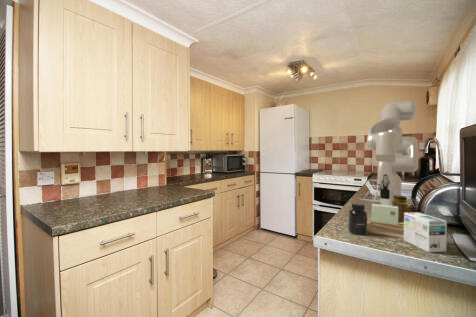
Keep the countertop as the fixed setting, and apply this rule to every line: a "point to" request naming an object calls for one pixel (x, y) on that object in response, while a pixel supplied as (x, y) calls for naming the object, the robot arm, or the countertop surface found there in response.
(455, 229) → the countertop surface
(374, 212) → the door panel
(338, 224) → the countertop surface
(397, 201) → the condiment
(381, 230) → the bottom track
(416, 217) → the light bulb box
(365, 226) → the supplement bottle
